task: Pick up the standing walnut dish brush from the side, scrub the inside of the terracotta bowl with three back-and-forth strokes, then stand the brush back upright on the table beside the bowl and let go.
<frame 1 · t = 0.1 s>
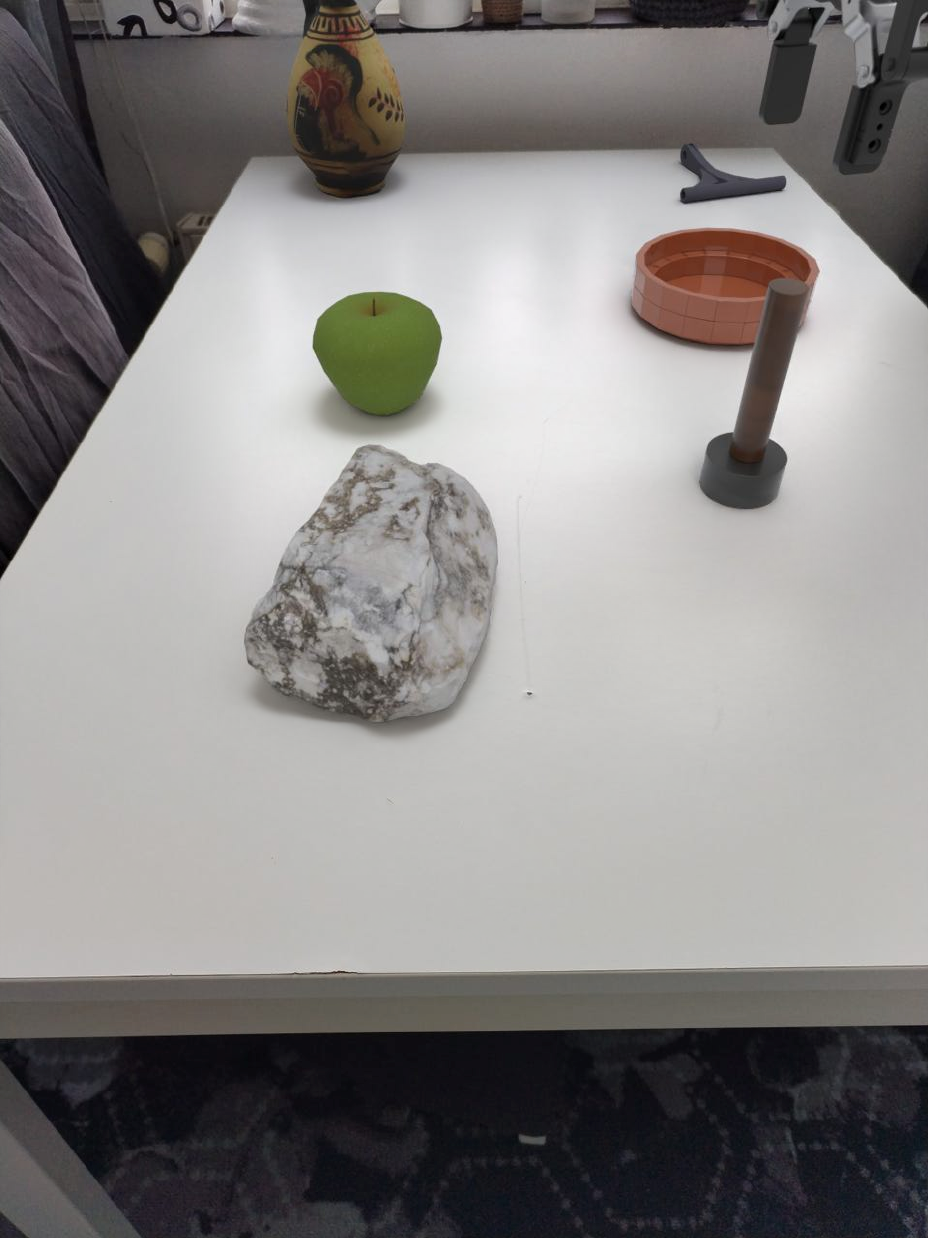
hand: (813, 145, 45), 26 cm above the table, tool pointing down, fingers open, 8 cm apart
decorative stone: (400, 616, 58), on the table
bracket: (708, 180, 117), on the table
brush: (738, 485, 68), on the table
bowl: (716, 309, 89), on the table
apple: (383, 405, 77), on the table
ceramic jug: (348, 184, 118), on the table
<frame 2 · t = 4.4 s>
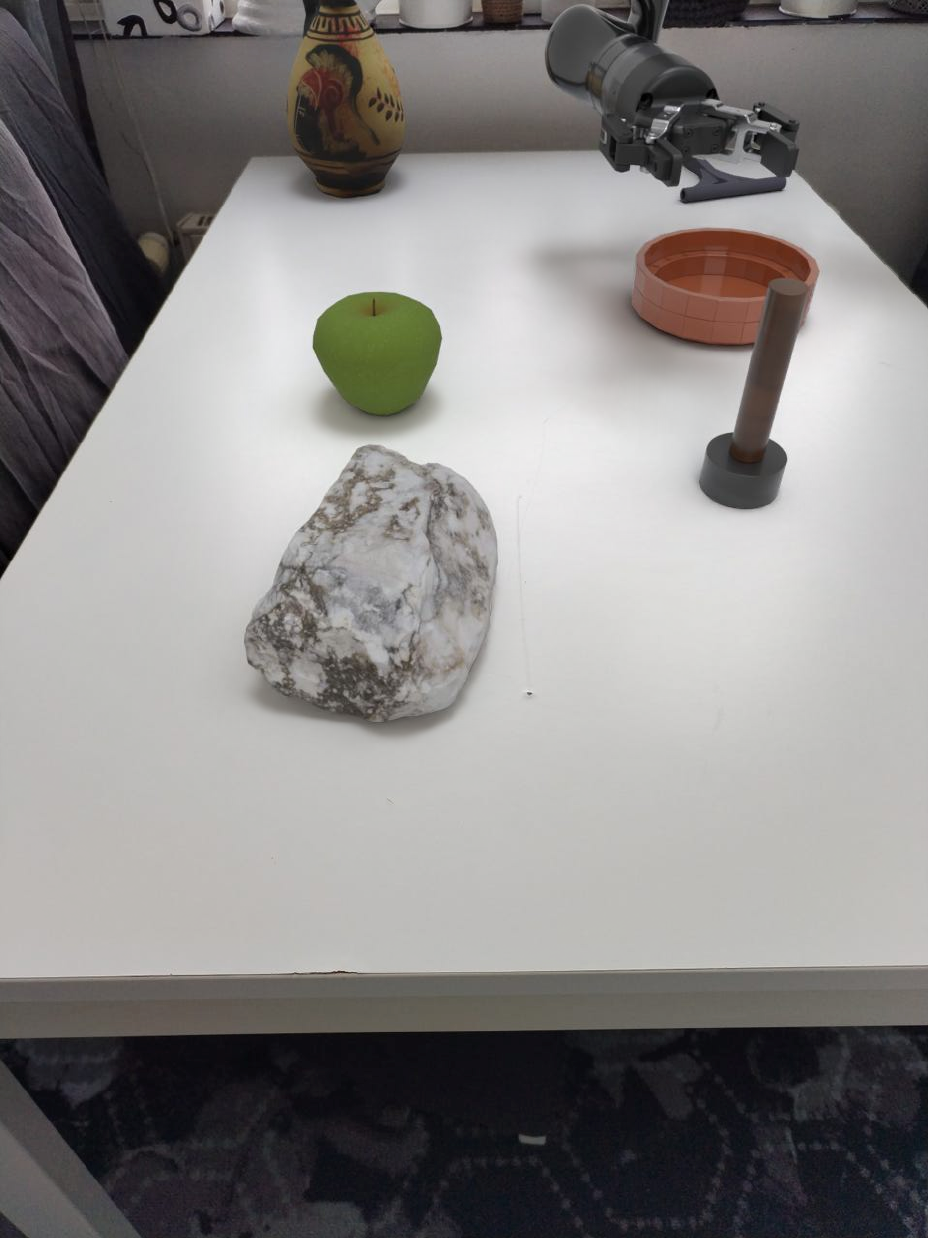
hand: (734, 167, 61), 20 cm above the table, tool horizontal, fingers open, 8 cm apart
nothing on the table moved.
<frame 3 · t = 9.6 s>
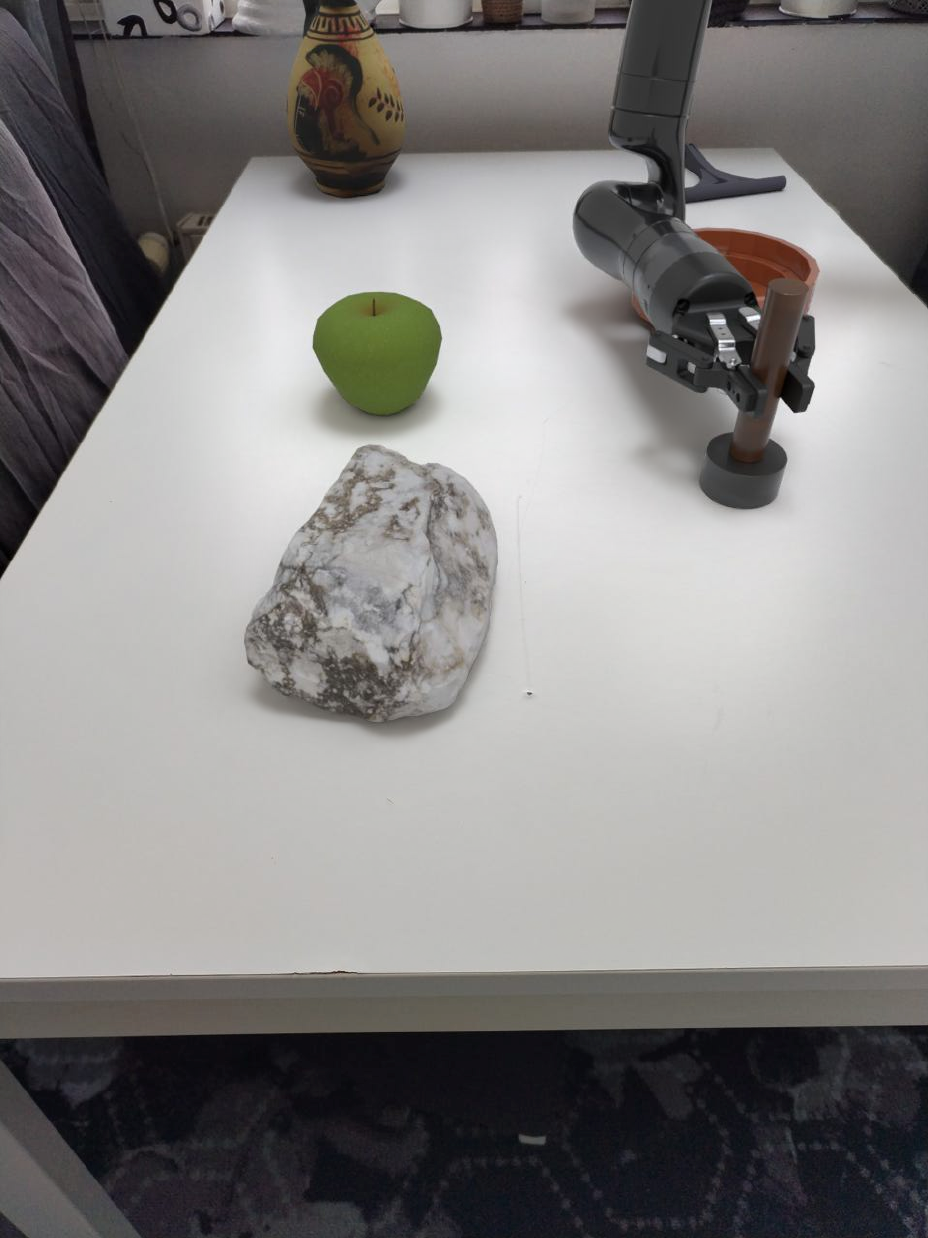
hand: (782, 403, 59), 9 cm above the table, tool horizontal, fingers closed on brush, 2 cm apart
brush: (738, 485, 68), on the table, touching gripper
everything else where it was.
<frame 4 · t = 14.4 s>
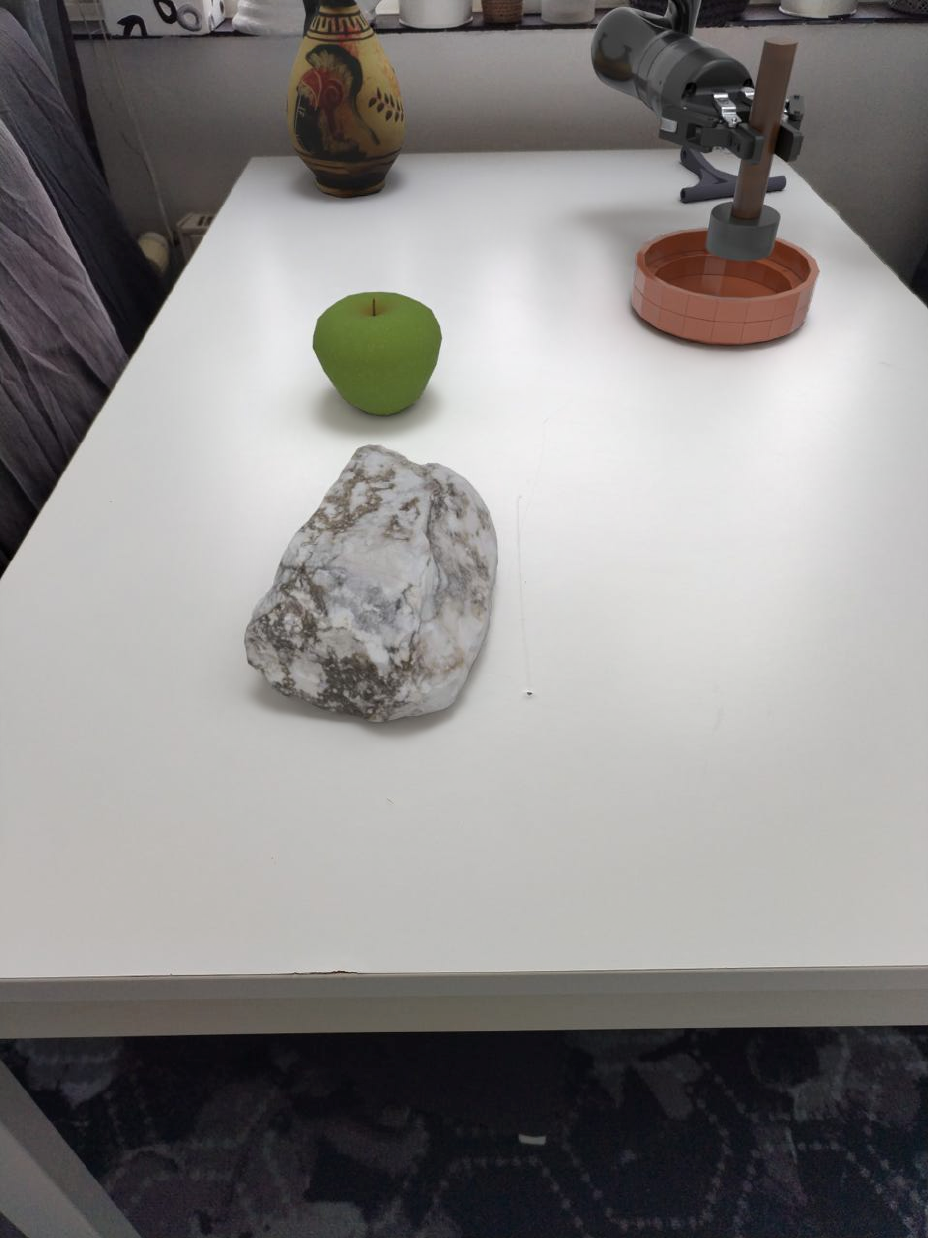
hand: (776, 149, 70), 18 cm above the table, tool horizontal, fingers closed on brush, 2 cm apart
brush: (738, 247, 78), point 9 cm above the table, touching gripper
everything else where it was.
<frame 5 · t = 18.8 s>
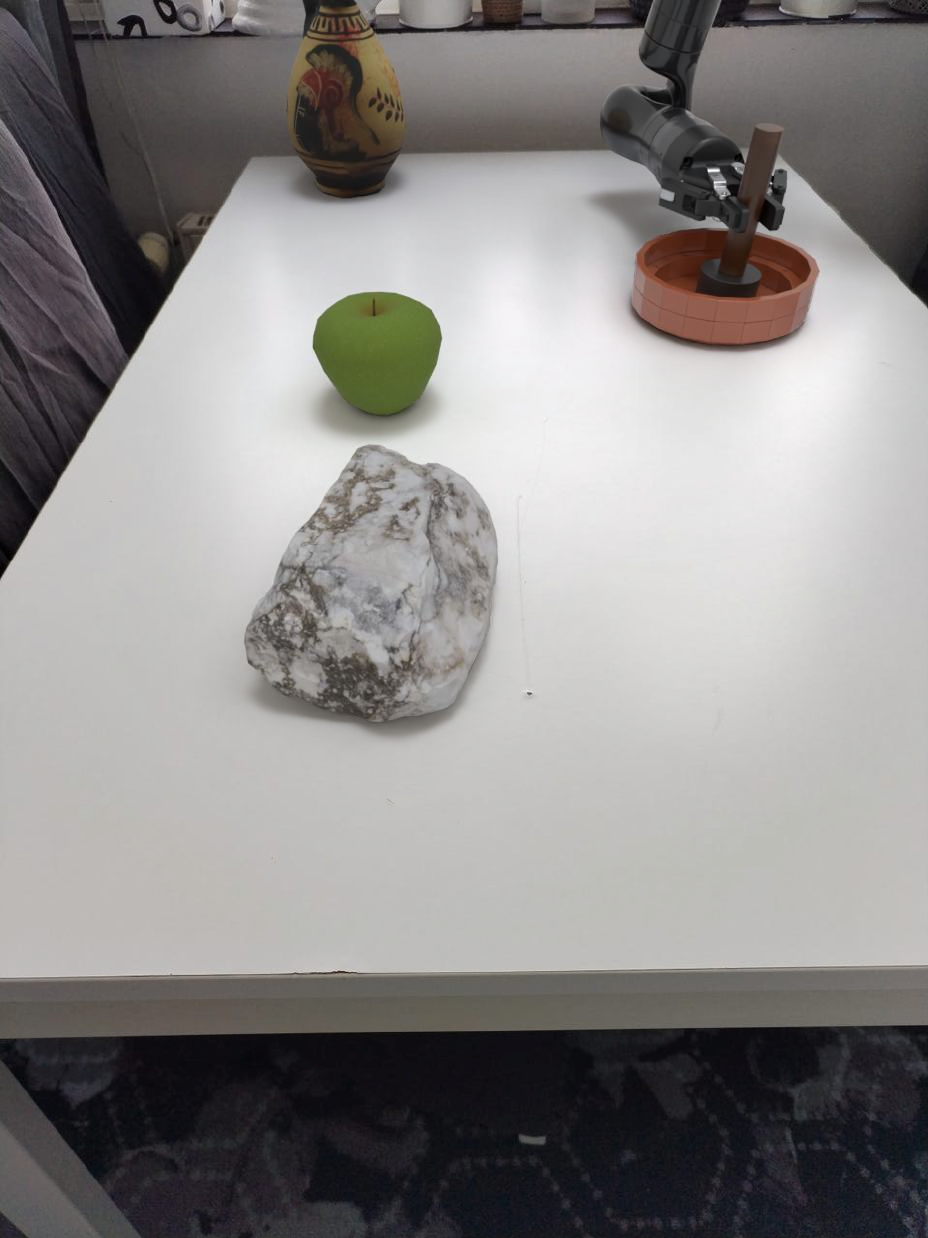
hand: (760, 220, 80), 10 cm above the table, tool horizontal, fingers closed on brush, 2 cm apart
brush: (723, 299, 88), point 1 cm above the table, touching gripper
everything else where it was.
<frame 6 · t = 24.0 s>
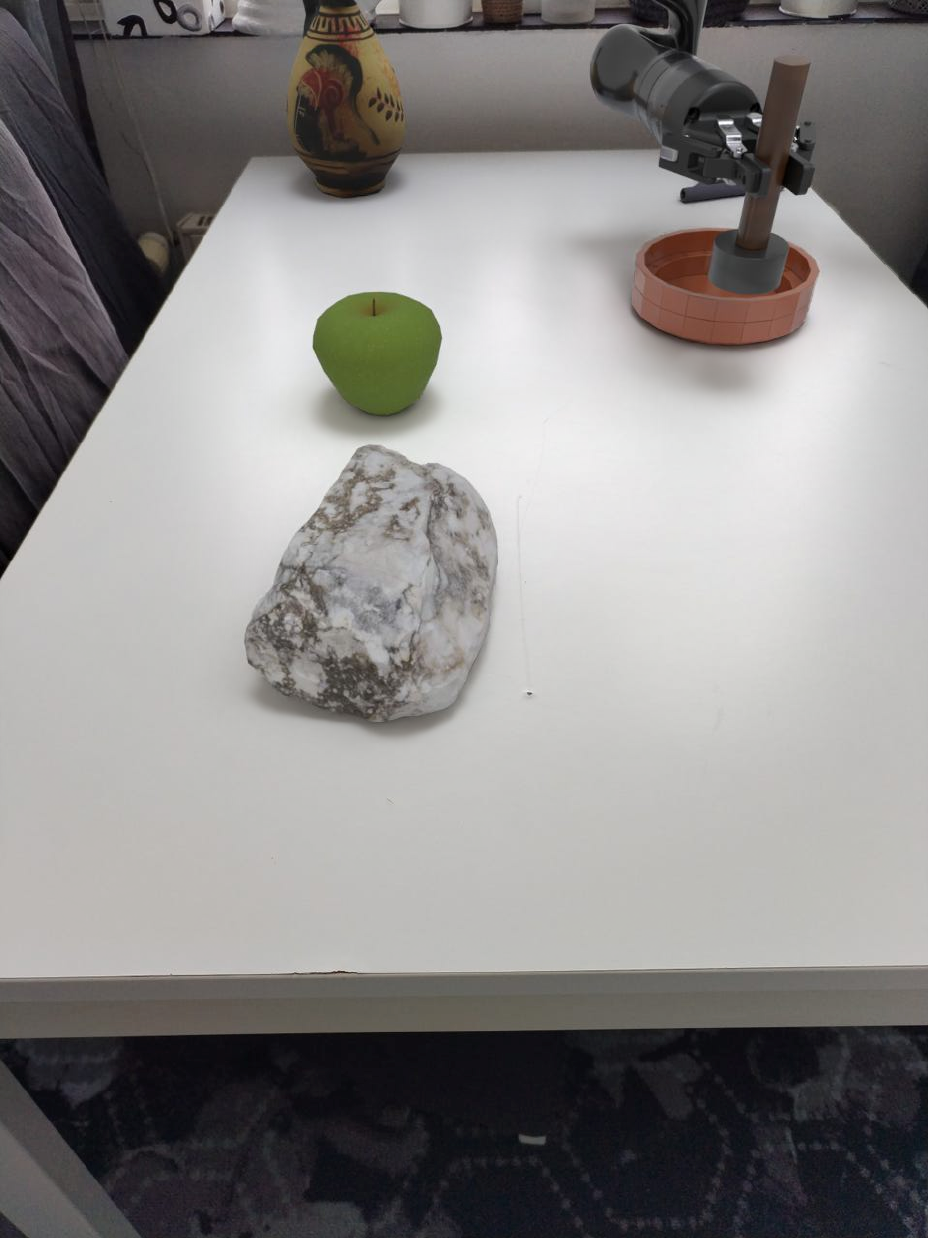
hand: (785, 182, 65), 18 cm above the table, tool horizontal, fingers closed on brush, 2 cm apart
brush: (743, 278, 73), point 9 cm above the table, touching gripper
everything else where it was.
when the fingers open (9 cm above the table, at t = 28.4 s): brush stays where it is, on the table.
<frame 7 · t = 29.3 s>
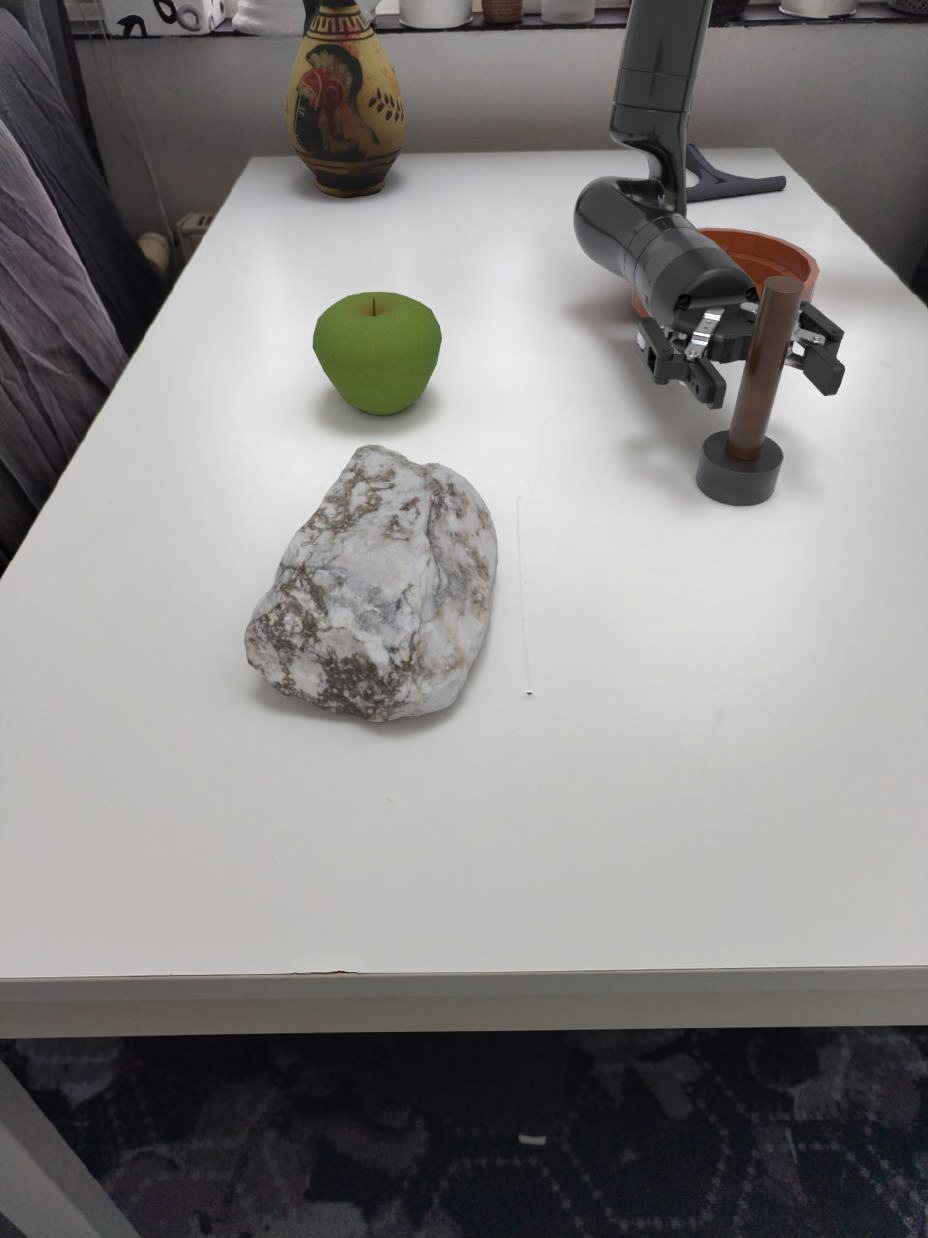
hand: (778, 390, 60), 9 cm above the table, tool horizontal, fingers open, 8 cm apart
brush: (734, 482, 68), on the table
everything else where it was.
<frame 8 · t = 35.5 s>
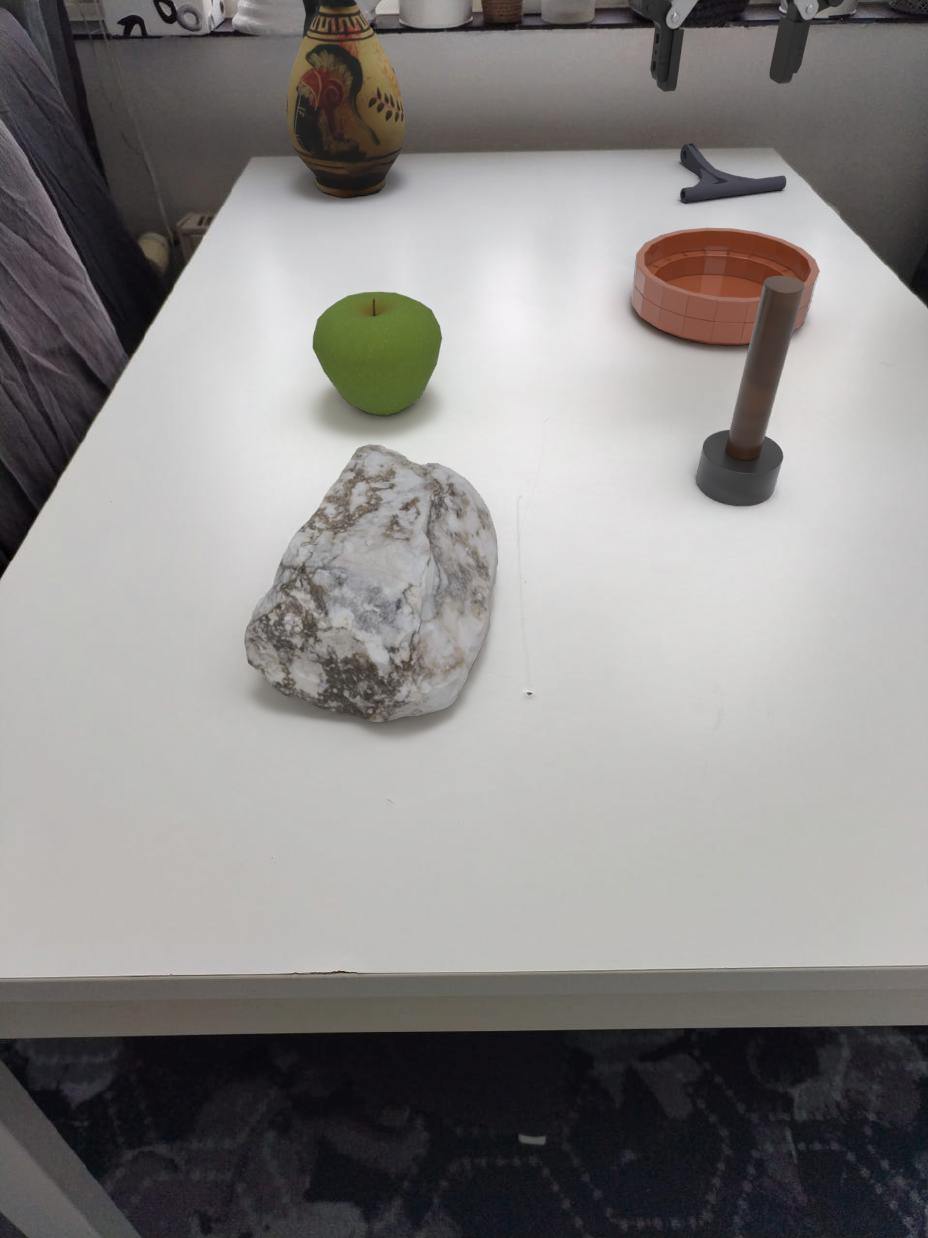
hand: (723, 84, 61), 24 cm above the table, tool pointing down, fingers open, 8 cm apart
nothing on the table moved.
at the end: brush tilted 0°; the gripper is holding nothing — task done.
